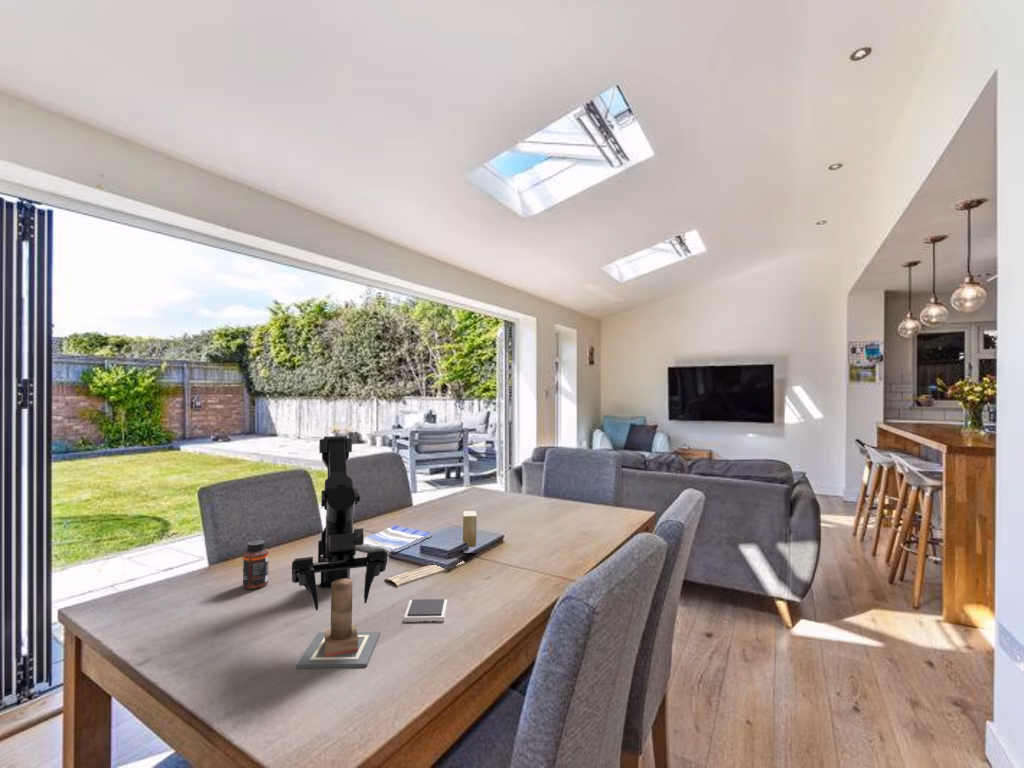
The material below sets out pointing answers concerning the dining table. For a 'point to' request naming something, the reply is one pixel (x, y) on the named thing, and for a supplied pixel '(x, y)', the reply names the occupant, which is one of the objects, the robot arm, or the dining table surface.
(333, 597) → the stamp
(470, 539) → the skincare box
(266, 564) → the supplement bottle
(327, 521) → the robot arm
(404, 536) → the dish towel
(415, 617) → the ink pad
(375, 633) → the form board
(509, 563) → the dining table surface
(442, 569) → the newspaper
